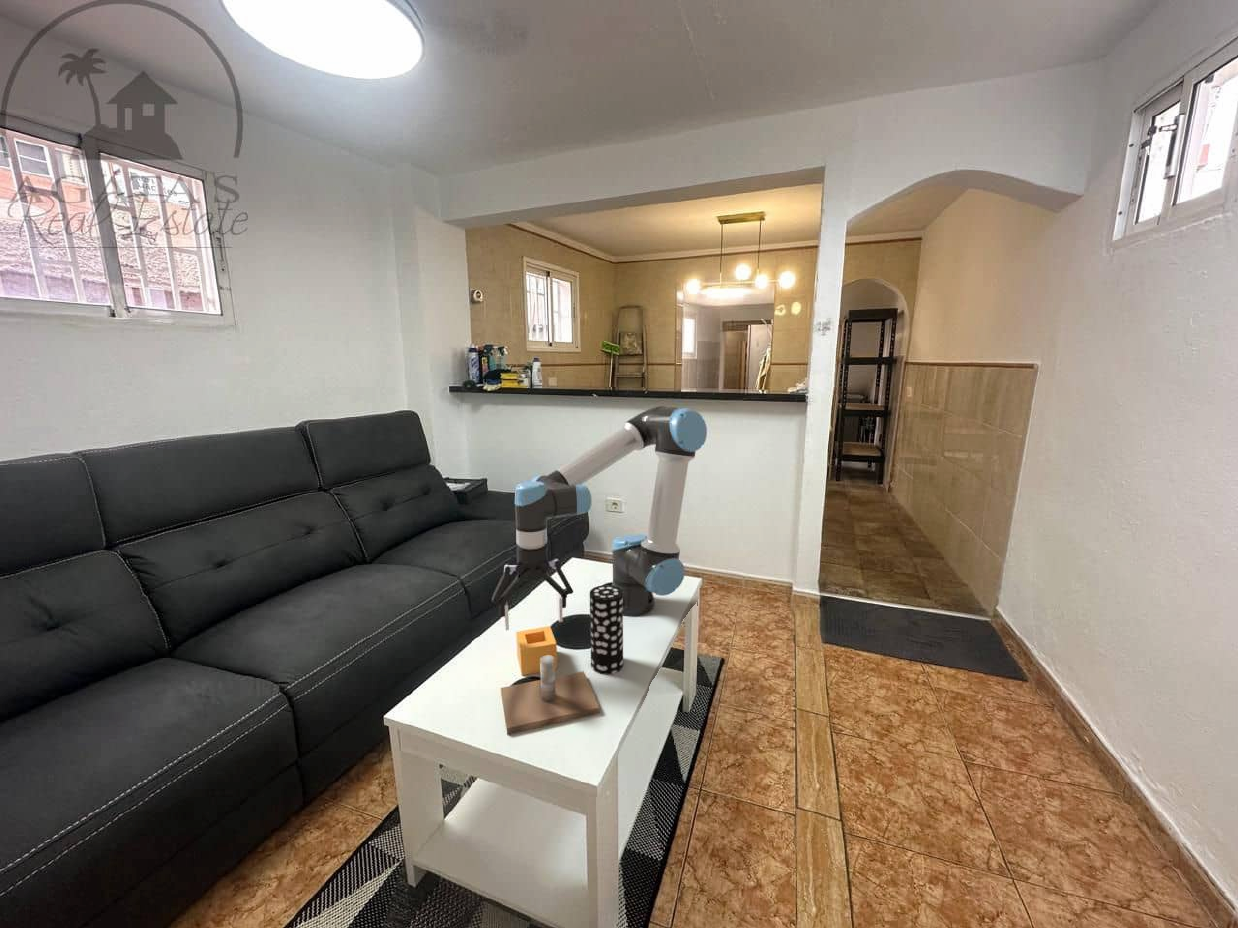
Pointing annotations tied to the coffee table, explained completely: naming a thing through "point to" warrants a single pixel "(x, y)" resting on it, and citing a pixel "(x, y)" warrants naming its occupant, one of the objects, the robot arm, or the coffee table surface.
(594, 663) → the white-spotted black cylinder
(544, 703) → the post board
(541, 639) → the collar
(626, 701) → the coffee table surface
